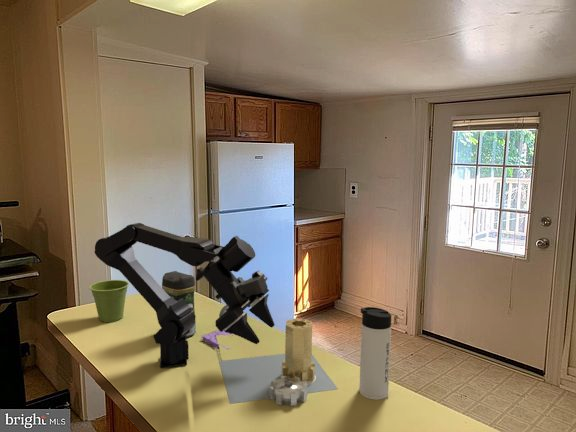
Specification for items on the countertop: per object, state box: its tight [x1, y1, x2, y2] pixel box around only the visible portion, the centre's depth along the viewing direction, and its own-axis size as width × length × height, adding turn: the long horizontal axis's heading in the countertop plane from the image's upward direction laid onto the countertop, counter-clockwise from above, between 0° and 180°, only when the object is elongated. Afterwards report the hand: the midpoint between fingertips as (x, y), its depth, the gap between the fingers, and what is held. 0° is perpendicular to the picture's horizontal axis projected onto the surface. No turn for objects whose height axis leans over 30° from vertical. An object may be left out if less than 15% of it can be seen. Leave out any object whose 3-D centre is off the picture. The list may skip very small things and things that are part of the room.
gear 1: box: [282, 318, 315, 383], centre depth 100 cm, size 8×8×13 cm
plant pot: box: [89, 279, 130, 323], centre depth 139 cm, size 12×12×11 cm
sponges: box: [201, 329, 236, 350], centre depth 122 cm, size 7×13×2 cm, turn 45°
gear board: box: [218, 353, 339, 405], centre depth 102 cm, size 24×20×4 cm
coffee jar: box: [161, 270, 197, 339], centre depth 127 cm, size 10×8×19 cm
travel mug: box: [358, 306, 392, 401], centre depth 94 cm, size 6×7×20 cm
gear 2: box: [269, 376, 308, 407], centre depth 93 cm, size 8×8×3 cm
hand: (266, 334), depth 103 cm, fingers open, 9 cm apart
